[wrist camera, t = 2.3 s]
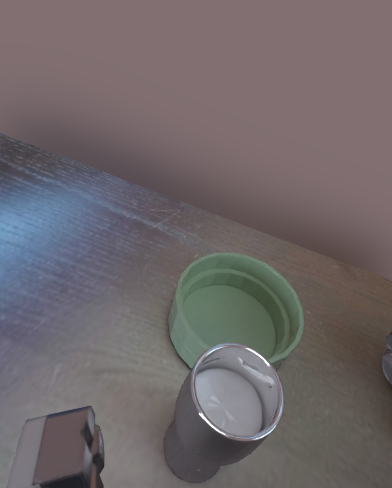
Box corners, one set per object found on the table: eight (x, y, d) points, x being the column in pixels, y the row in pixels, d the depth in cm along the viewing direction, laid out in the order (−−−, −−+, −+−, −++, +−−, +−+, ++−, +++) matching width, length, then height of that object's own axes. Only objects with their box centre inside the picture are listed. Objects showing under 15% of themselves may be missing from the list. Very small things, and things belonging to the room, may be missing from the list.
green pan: (155, 369, 38) (162, 344, 34) (180, 269, 49) (188, 240, 45) (285, 402, 39) (308, 380, 35) (282, 295, 49) (300, 269, 45)
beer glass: (144, 439, 33) (166, 375, 23) (197, 395, 37) (237, 323, 27) (189, 508, 30) (239, 472, 20) (242, 453, 34) (307, 398, 24)
